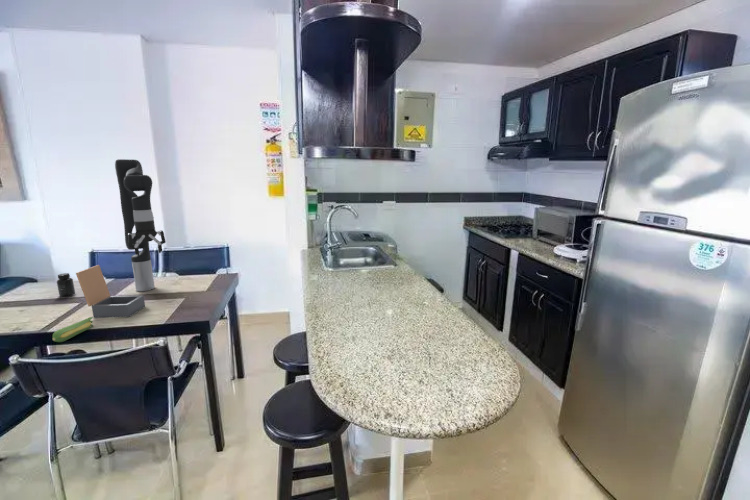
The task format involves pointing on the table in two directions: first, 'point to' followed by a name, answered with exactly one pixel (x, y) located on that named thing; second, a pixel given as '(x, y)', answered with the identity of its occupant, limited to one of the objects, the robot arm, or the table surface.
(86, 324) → the edible corn
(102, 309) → the duct box
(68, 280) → the supplement bottle
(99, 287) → the panel
